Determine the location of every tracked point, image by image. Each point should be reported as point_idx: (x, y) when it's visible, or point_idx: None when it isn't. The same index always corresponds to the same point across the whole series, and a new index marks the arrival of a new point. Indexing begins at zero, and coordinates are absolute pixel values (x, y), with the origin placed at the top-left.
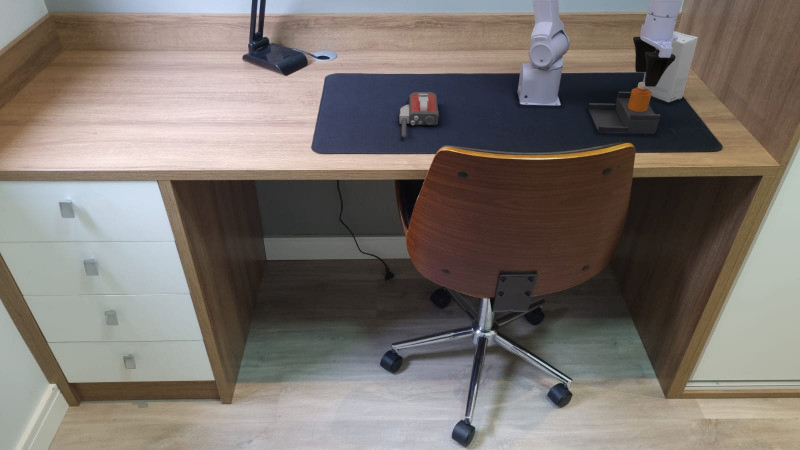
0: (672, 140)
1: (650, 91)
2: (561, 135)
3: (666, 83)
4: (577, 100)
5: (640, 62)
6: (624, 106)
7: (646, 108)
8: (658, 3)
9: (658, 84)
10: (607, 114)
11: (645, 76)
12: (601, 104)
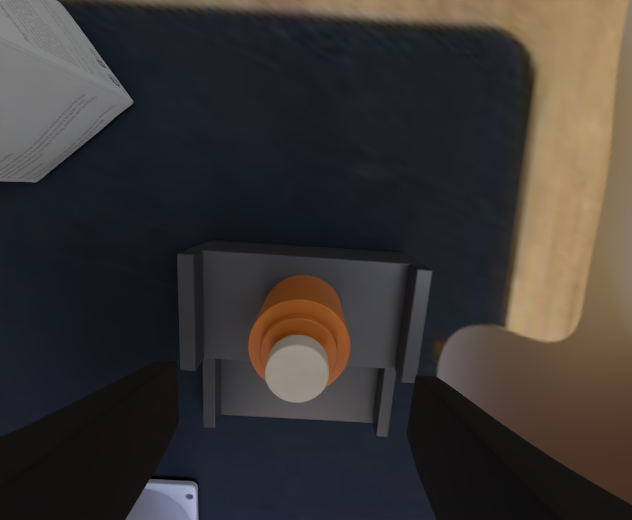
0: (437, 202)
1: (296, 303)
2: (381, 506)
3: (41, 95)
4: None
5: (130, 473)
6: None
7: (334, 292)
8: None
9: (32, 130)
10: None
11: (437, 510)
12: (214, 391)
